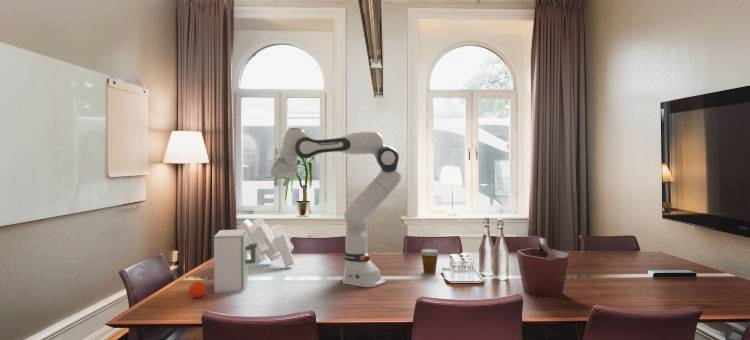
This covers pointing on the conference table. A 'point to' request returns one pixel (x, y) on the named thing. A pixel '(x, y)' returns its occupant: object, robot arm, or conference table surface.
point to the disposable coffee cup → (429, 260)
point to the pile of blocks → (268, 241)
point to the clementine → (197, 289)
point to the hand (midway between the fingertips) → (280, 185)
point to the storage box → (228, 261)
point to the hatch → (245, 257)
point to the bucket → (543, 270)
